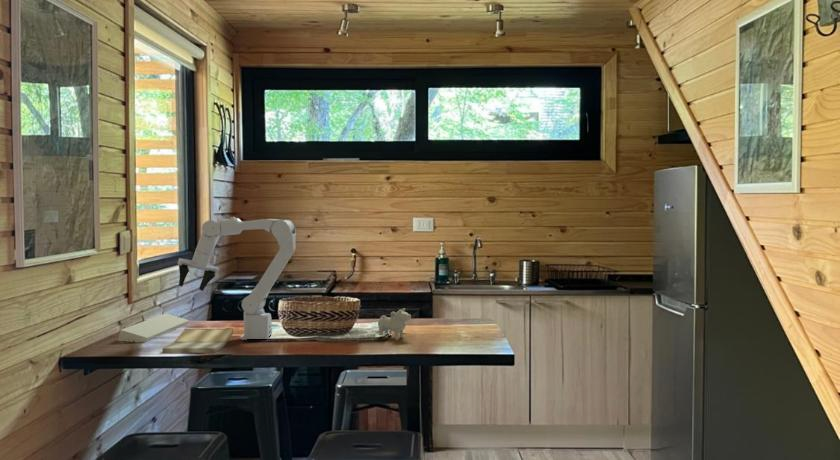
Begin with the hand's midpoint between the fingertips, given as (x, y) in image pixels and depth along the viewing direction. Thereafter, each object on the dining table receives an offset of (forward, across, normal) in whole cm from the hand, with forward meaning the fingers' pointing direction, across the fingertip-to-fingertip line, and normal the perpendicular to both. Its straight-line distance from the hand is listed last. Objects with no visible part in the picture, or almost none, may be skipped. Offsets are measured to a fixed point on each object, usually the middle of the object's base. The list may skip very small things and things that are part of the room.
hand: (190, 287), depth 242 cm
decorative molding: (+24, +1, -14) cm, 27 cm away
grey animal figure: (-9, -58, +46) cm, 75 cm away
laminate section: (+14, +1, +23) cm, 27 cm away
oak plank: (+13, -5, +15) cm, 20 cm away
